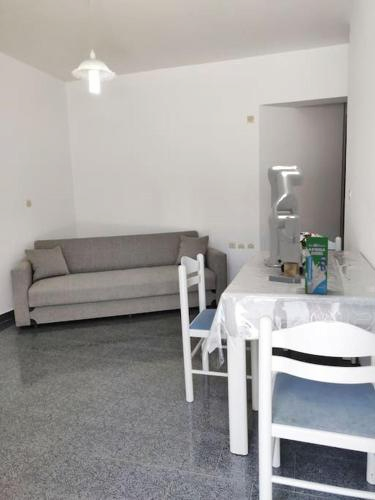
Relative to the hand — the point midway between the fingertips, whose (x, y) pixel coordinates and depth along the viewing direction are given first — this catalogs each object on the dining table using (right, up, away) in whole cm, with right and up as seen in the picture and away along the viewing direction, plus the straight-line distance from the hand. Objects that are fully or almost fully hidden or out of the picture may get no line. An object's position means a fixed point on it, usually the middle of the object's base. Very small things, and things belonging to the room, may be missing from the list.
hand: (292, 273), depth 198 cm
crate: (0, -2, 0) cm, 2 cm away
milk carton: (+3, -7, -27) cm, 28 cm away
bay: (-2, -3, -4) cm, 6 cm away
